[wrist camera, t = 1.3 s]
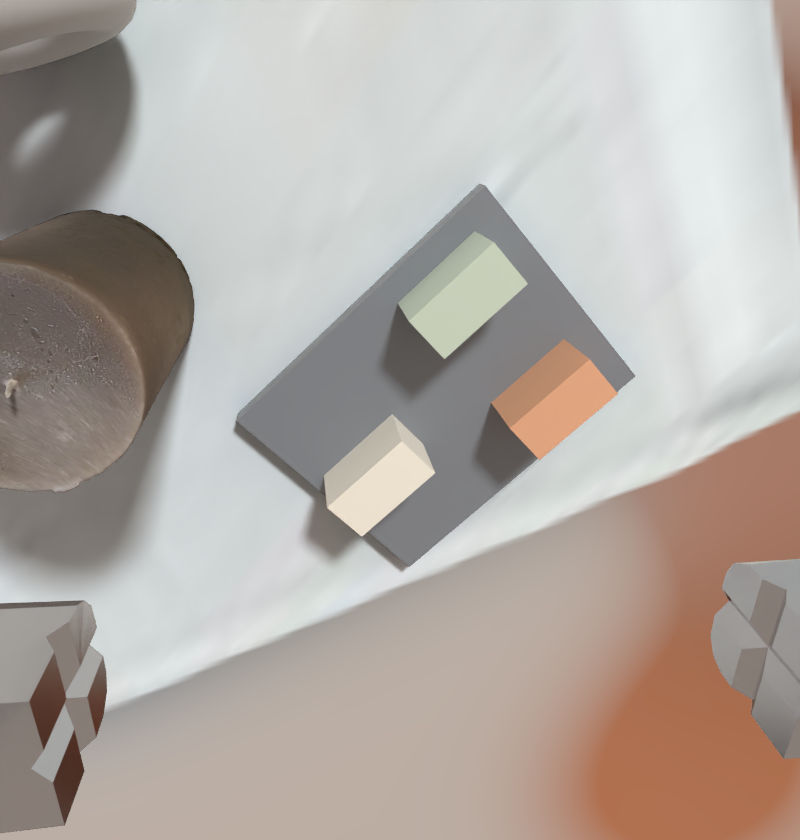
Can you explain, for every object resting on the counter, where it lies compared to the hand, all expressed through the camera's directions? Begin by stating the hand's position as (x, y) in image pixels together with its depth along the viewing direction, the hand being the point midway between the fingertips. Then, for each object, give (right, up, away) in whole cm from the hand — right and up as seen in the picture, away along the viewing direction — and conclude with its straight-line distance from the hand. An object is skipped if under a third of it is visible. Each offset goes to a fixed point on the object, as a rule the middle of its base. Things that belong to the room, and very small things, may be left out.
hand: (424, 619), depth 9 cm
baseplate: (+2, +4, +35) cm, 35 cm away
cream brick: (-2, 0, +35) cm, 35 cm away
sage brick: (+3, +10, +31) cm, 33 cm away
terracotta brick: (+9, +5, +34) cm, 36 cm away
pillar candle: (-17, +9, +29) cm, 35 cm away
